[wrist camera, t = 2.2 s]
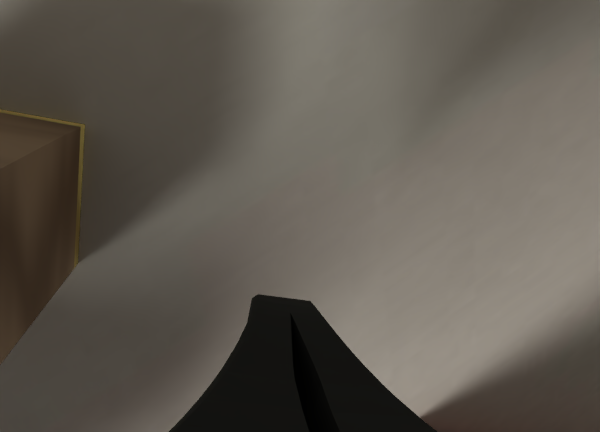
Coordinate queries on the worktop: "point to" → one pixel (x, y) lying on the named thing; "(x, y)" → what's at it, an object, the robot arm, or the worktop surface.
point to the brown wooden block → (36, 215)
